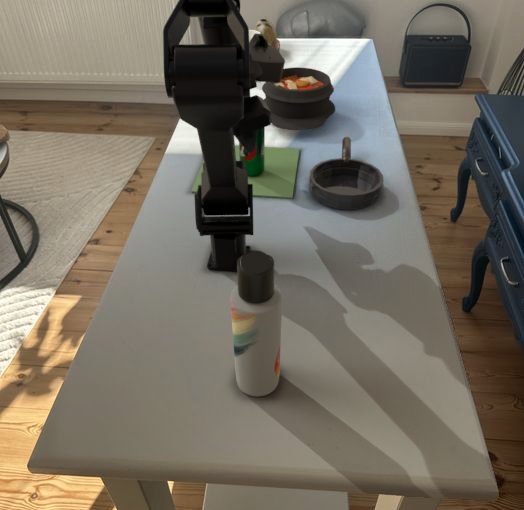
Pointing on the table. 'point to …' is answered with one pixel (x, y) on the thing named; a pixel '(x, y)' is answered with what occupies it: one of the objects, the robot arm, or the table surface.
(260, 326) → the lotion bottle
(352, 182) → the pan
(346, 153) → the pan handle
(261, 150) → the soda can
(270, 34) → the ceramic sculpture
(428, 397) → the table surface
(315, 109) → the casserole
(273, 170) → the napkin
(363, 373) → the table surface
